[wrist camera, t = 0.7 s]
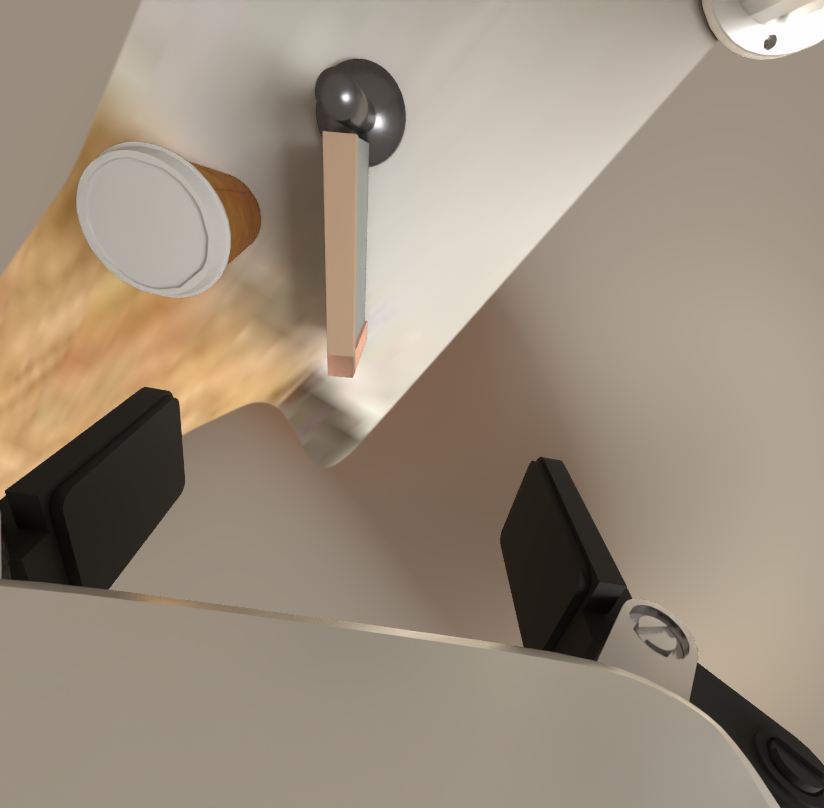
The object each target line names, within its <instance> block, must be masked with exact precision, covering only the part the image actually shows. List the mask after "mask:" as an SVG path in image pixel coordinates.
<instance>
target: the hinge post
mask: <svg viewBox="0 0 824 808" xmlns="http://www.w3.org/2000/svg"><path fill="white" fill-rule="evenodd" d="M315 95H316V100H317V104H316V115H317V123H318V127H319V130H320V133H321V136H322V138H323V131H327V132H338V133H349V134H356V135H358V138H360V139H362V140H364V141H366V142H367V143H369V167H373V166H376V165H379V164H381V163H383V162H384V161H386V160H387V159H388V158H389V157H391V156H392V154H393V153H394V152H395V151H396V149H397V148H398V146H399V144H400V142H401V140H402V137H403V134H404V130H405V123H406V111H405V105H404V100H403V97H402V94H401V91H400V89H399V87H398V85H397V83H396V82H395V80H394V79H393V77H392V76H391V75H390V74H389V73H388V72H387V71H386V70H385V69H384V68H383V67H381V66H380V65H378V64H376V63H374V62H372V61H369V60H364V59H353V60H348V61H345V62H343V63H341V64H339V65H337V66H336V67H331V68H328V69H326V70H324V71H323V72H322V73H321V74H320V76H319V77H318V79H317V82H316V87H315Z"/></svg>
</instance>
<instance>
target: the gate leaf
mask: <svg viewBox="0 0 824 808" xmlns="http://www.w3.org/2000/svg"><path fill="white" fill-rule="evenodd" d="M368 168H369V143H367V142H366V141H364V140H362V139H360V138H358V135H356V134H349V133H338V132H327V131H323V174H324V221H325V268H326V314H327V361H328V376H338V377H350V378H353V376H354V373H355V370H356V368H357V365H358V362H359V359H360V356H361V354H362V351H363V348H364V345H365V343H366V340H367V321H365V291H366V250H367V209H368Z"/></svg>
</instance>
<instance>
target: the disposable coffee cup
mask: <svg viewBox="0 0 824 808" xmlns="http://www.w3.org/2000/svg"><path fill="white" fill-rule="evenodd" d="M76 209H77V214H78V219H79V222H80V226H81V229H82V232H83V234H84V236H85V238H86V240H87V242H88V244H89V245H90V247H91V249H92V251H93V252H94V253H95V254H96V256H97V257H98V258H99V259H100V261H101V262H102V263H103V264H104V266H105V267H106V268H107V269H109V270H110V271H111V272H112V273H113V274H115V275H116V276H117V277H118V278H119V279H121V280H122V281H123V282H125V283H127V284H129V285H131V286H133V287H135V288H137V289H139V290H141V291H144V292H148V293H152V294H156V295H161V296H166V297H171V298H184V297H189V296H194V295H197V294H199V293H201V292H204V291H205V290H207V289H208V288H210V287H211V286H212V285H214V283H215V282H216V281H217V280H218V279H219V278H220V277H221V275H222V273H223V272H224V270H225V268H226V266H227V265H228V264H229V263H230V262H231V261H232V260H233V259H234V258H235V257H237V256H238V255H239V254H240V253H241V252H242V251H243V250H244V249H246V248H247V247H248V246H249V245H250V244H252V243H253V241H254V240H255V239H256V237H257V235H258V233H259V230H260V226H261V215H260V209H259V206H258V203H257V201H256V199H255V197H254V195H253V194H252V192H251V191H250V190H249V188H248V187H247V186H246V185H245V184H244V183H242V182H241V181H240V180H238V179H237V178H235V177H233V176H231V175H228V174H224V173H221V172H218V171H215V170H212V169H209V168H206V167H203V166H200V165H197V164H194V163H191V162H188V161H186V160H185V159H184V158H182V157H181V156H179V155H178V154H176V153H174V152H172V151H170V150H168V149H166V148H163V147H160V146H157V145H154V144H151V143H144V142H125V143H121V144H117V145H114V146H112V147H110V148H108V149H106V150H105V151H103V152H102V153H101V154H100V155H99V156H98V157H97V158H96V159H95V160H93V161H92V162H91V163H90V164H89V165H88V167H87V168H86V169H85V170H84V172H83V174H82V176H81V178H80V180H79V184H78V189H77V195H76Z"/></svg>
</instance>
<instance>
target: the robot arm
mask: <svg viewBox="0 0 824 808" xmlns="http://www.w3.org/2000/svg"><path fill="white" fill-rule="evenodd" d="M702 4H703V10H704V13H705V16H706V18H707V21H708V24H709V27H710V28H711V30H712V31H713V33H714V34H715V36H716V37H717V39H718V40H719V41H720V42H721V43H722V44H723V45H724V46H726V47H727V48H728V49H729V50H730V51H732V52H734V53H737V54H738V55H741V56H743V57H746V58H752V59H758V60H763V59H775V58H780V57H783V56H787V55H790V54H794V53H796V52H799V51H802V50H804V49H806V48H809V47H812V46H814V45H815V44H817V43H819V42H820V41H822V40H824V0H702ZM763 44H764V46H763ZM184 485H185V474H184V460H183V447H182V433H181V420H180V407H179V401H178V399H177V398H173V395H172V393H171V392H170V391H166V390H160V389H154V388H149V387H144V388H142V389H140V390H139V391H137V392H136V393H135V394H133V395H132V396H131V397H129V398H128V399H127V400H125V401H124V402H123V403H121V404H120V405H119V406H117V407H116V408H115V409H113V410H112V411H111V412H109V413H108V414H107V415H105V416H104V417H103V418H101V419H100V420H99V421H97V422H96V423H95V424H93V425H92V426H91V427H89V428H88V429H87V430H85V431H84V432H83V433H81V434H80V435H79V436H77V437H76V438H75V439H73V440H72V441H71V442H69V443H68V444H67V445H65V446H64V447H63V448H61V449H60V450H59V451H57V452H56V453H55V454H53V455H52V456H51V457H49V458H48V459H47V460H45V461H44V462H43V463H41V464H40V465H39V466H37V467H36V468H35V469H33V470H32V471H31V472H29V473H28V474H27V475H25V476H24V477H23V478H21V479H20V480H19V481H17V482H16V483H15V484H13V485H12V486H11V487H9V488H8V489H7V490H5V493H6V496H5V497H3V498H2V499H1V500H0V808H824V765H823V764H822V763H821V761H820V760H819V759H818V758H817V757H816V756H815V755H814V754H813V753H812V752H811V750H810V749H809V748H808V747H806V746H805V745H804V744H803V743H802V742H801V741H799V740H798V739H797V738H796V737H795V736H793V735H792V734H791V733H790V732H788V731H787V730H786V729H784V728H783V727H782V726H780V725H779V724H778V723H776V722H775V721H774V720H772V719H771V718H770V717H769V716H767V715H766V714H765V713H763V712H762V711H760V710H759V709H758V708H757V707H755V706H754V705H753V704H751V703H750V702H749V701H747V700H746V699H745V698H743V697H742V696H741V695H739V694H738V693H737V692H736V691H734V690H733V689H731V688H730V687H729V686H728V685H726V684H725V683H724V682H722V681H721V680H720V679H718V678H717V677H716V676H714V675H713V674H712V673H710V672H709V671H708V670H707V669H705V668H704V667H703V666H701V665H700V664H699V663H697V660H698V648H697V646H696V643H695V640H694V638H693V636H692V635H691V633H690V632H689V630H688V629H687V627H686V626H685V625H684V624H683V623H682V622H681V621H680V620H679V619H678V618H677V617H676V616H675V615H673V614H672V613H671V612H669V611H668V610H667V609H665V608H664V607H662V606H660V605H658V604H656V603H654V602H651V601H648V600H645V599H637V598H634V599H632V597H631V595H630V593H629V591H628V589H627V586H626V584H625V582H624V580H623V578H622V576H621V574H620V572H619V570H618V568H617V566H616V564H615V562H614V560H613V558H612V557H611V555H610V553H609V551H608V549H607V547H606V545H605V543H604V541H603V539H602V537H601V535H600V533H599V531H598V529H597V527H596V526H595V523H594V522H593V520H592V518H591V516H590V514H589V512H588V510H587V508H586V506H585V504H584V502H583V500H582V498H581V496H580V494H579V492H578V490H577V488H576V487H575V485H574V483H573V481H572V479H571V477H570V475H569V473H568V471H567V469H566V467H565V465H564V464H563V462H562V461H560V460H556V459H550V458H544V457H540V458H538V459H537V461H531V463H530V464H529V466H528V469H527V471H526V473H525V476H524V478H523V481H522V483H521V486H520V488H519V490H518V493H517V495H516V498H515V500H514V503H513V505H512V508H511V510H510V513H509V515H508V517H507V520H506V522H505V524H504V527H503V529H502V532H501V537H500V544H501V548H502V553H503V558H504V562H505V567H506V571H507V575H508V580H509V584H510V589H511V593H512V598H513V602H514V606H515V610H516V615H517V620H518V624H519V628H520V633H521V637H522V642H523V646H524V647H518V646H512V645H506V644H499V643H493V642H487V641H480V640H473V639H466V638H459V637H452V636H445V635H438V634H431V633H424V632H417V631H410V630H403V629H396V628H389V627H382V626H375V625H368V624H360V623H353V622H346V621H339V620H332V619H325V618H317V617H310V616H303V615H295V614H288V613H281V612H274V611H266V610H259V609H251V608H244V607H237V606H229V605H222V604H214V603H207V602H199V601H191V600H184V599H176V598H168V597H161V596H153V595H145V594H138V593H131V592H123V591H114V590H109V588H110V587H111V586H112V584H113V583H114V582H115V580H116V579H117V578H118V576H119V575H120V574H121V572H122V571H123V570H124V568H125V567H126V566H127V565H128V563H129V562H130V561H131V559H132V558H133V556H134V555H135V554H136V553H137V551H138V550H139V549H140V547H141V546H142V545H143V543H144V542H145V541H146V540H147V538H148V537H149V535H150V534H151V533H152V532H153V530H154V529H155V528H156V526H157V525H158V524H159V522H160V521H161V520H162V518H163V517H164V516H165V514H166V513H167V512H168V511H169V509H170V508H171V507H172V505H173V504H174V503H175V501H176V500H177V499H178V497H179V496H180V495H181V493H182V491H183V488H184Z"/></svg>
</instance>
